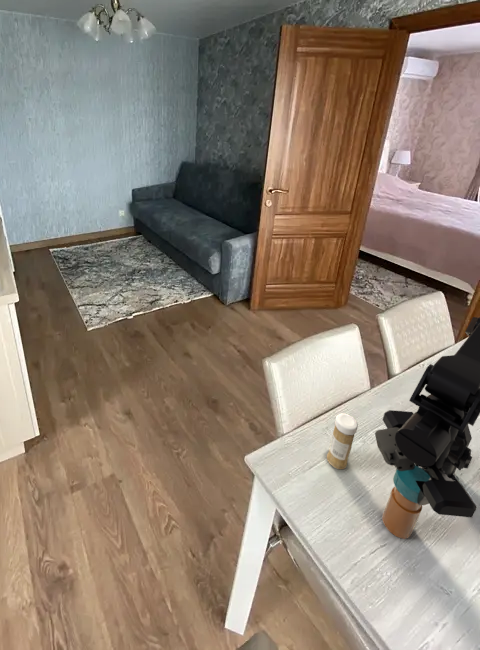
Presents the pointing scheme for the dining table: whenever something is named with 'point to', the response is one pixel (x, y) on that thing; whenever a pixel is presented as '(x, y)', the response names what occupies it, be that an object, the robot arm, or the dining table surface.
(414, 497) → the lid
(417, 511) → the jar
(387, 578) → the dining table surface
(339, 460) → the sprinkles bottle
